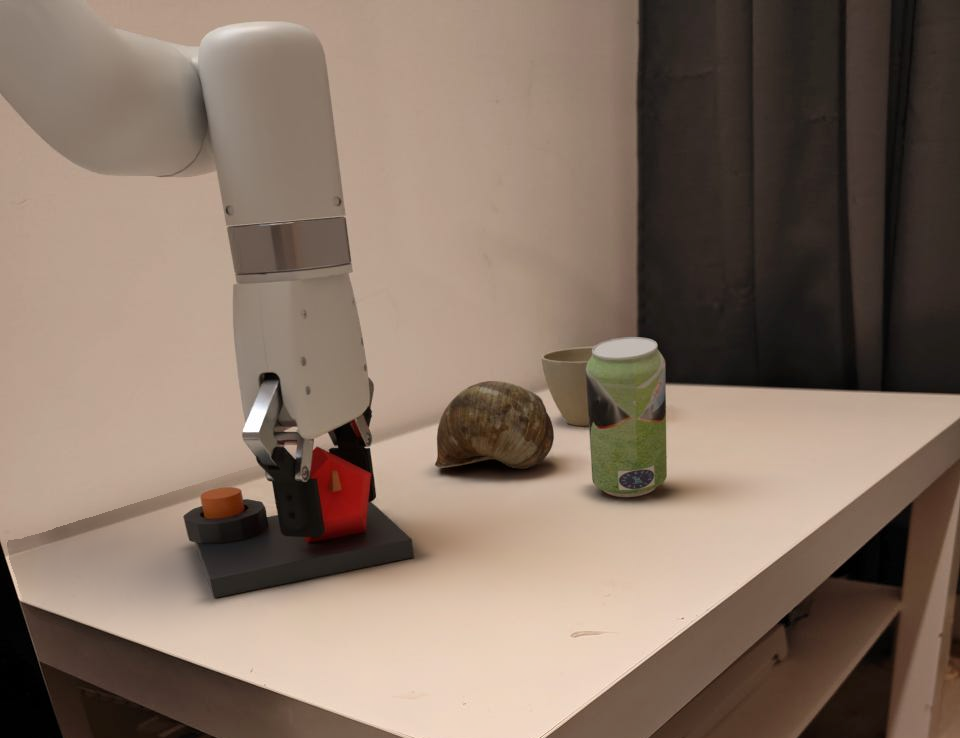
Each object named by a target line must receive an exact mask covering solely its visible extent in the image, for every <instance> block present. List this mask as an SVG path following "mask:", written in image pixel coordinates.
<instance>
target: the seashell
mask: <svg viewBox="0 0 960 738" xmlns="http://www.w3.org/2000/svg"><path fill="white" fill-rule="evenodd" d="M437 427H438V428H437V434H436V448H437V449H436V450H437V457H436V461H435V463H434V466H435V467H436V468H440V469H443V468H451V467H459V466H463V465H470V464H473V463H477V462H482V461H488V460H496V461H497V462H498V461H499V462H501V463H502V464H503V465H505V466H507V467H509V468H514V469H518V470H524V469H531V468H532V467H535V466H537V465H538V464H541V462H543V461H544V460H545V459H546V457H547V456H548V455H549V453H550V452H551V450H552V447H553V445H554V439H555V433H554V426H553V422H552V419H551V417H550V415H549V414H548V412H547V408H546V405H545V404H544V400H543V399H542V398H541V396H539V395H538V394H536V393H534V392H533V391H530V390H529V389H526V388H524V387H521V386H519V385H516V384H514V383H510V382H506V381H499V380H487V381H482V382H477V383H476V384H472V385H470V386H468V387H467V388H465V389H463V390H461V391H460V392H459V393H458V394H457V395H456V396H455V397H454V398H453V399H452V400H451V401H450V402H449V403H448V405H447V406H446V408H444V411H443V413H442V414H441V417H440V419H439V423H438V426H437Z"/></svg>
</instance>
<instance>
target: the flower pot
mask: <svg viewBox="0 0 960 738" xmlns="http://www.w3.org/2000/svg"><path fill="white" fill-rule="evenodd" d="M593 348H594V346H579V347H569V348H568V347H567V348H561V349H557V350H552V351H548V352H546V353H543V354H542V355H541V357H540V359H541V365H542V370H543V374H544V378H545V381H546V385H547V388H548V390H549V393H550V395H551V398H552V400H553V402H554V403H555V406H556V407H557V409H558V411H559V413H560V414H561V416H562V418H563V419H564V420H565V422H566V423H567V424H568V425H573V426H578V427H579V426H580V427H581V426H582V427H589V416H588V399H587V383H586V366H587V363H588V361H589V360H590V358H591V356H592V354H593V353H592V349H593Z"/></svg>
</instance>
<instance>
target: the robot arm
mask: <svg viewBox="0 0 960 738" xmlns="http://www.w3.org/2000/svg"><path fill="white" fill-rule="evenodd" d="M0 95H1V96H2V97H3V98H4V100H5V101H6V102H7V103H8V104H9V105H10V106H11V108H12V109H13V110H14V111H15V112H16V114H18V115H19V116H20V118H21V119H22V120H23V121H24V122H25V123H26V125H27V126H29V127H30V128H31V129H32V130H33V132H35V134H36V135H38V136H39V137H40V138H41V140H43V141H44V142H45V143H46V144H47V145H49V147H50V148H52V149H53V150H54V151H55V152H56V153H58V154H60V155H61V156H62V157H64V158H65V159H66V160H68V161H70V162H71V163H72V164H75V165H76V166H78V167H80V168H82V169H85V170H87V171H90V172H91V173H95V174H98V175H103V176H113V177H114V176H117V177H122V176H123V177H156V178H190V177H191V178H192V177H197V176H204V175H207V174H210V173H215V172H216V175H217V180H218V186H219V192H220V197H221V202H222V209H223V214H224V220H225V226H226V231H227V237H228V243H229V248H230V254H231V259H232V266H233V270H234V276H235V283H234V284H233V285H232V325H233V327H232V328H233V341H234V351H235V361H236V368H237V369H236V370H237V377H238V385H239V393H240V400H241V405H242V406H241V407H242V412H243V419H244V423H245V424H244V427H243V429H242V432H241V434H242V436H241V438H242V441H243V442H244V444H245V445H246V446H247V447H248V449H249V450H250V451H251V453H252V454H253V455H254V457H255V460H256V462H257V464H258V465H259V466H260V467H261V468H262V469H263V470H264V475H265V479H266V480H267V481H268V482H271V485H272V490H273V494H274V495H273V496H274V501H275V507H276V514H277V515H278V519H279V525H280V531H281V533H282V534H283V535H284V536H292V537H313V538H318V537H320V536H322V535H323V534H324V533H325V527H324V521H323V514H322V508H321V501H320V495H319V488H318V482H317V478H310V472H311V463H312V454H313V450H314V443H315V439H317V438H319V437H321V436H323V435H326V434H328V436H329V439H330V440H331V442H332V444H333V446H334V447H330V448H329V449H328V452H330V453H332V454H334V455H336V456H338V457H340V458H342V459H344V460H346V461H348V462H350V463H352V464H354V465H356V466H358V467H360V468H362V469H364V470H366V471H368V472H370V473H371V480H370V490H369V500H368V502H372V503H373V502H374V501H375V500H376V498H377V491H376V483H375V474H374V467H373V459H372V451H371V448H370V447H371V445H372V443H373V435H372V432H371V429H370V424H371V422H372V421H371V420H372V418H373V410H372V402H373V398H374V391H375V385H374V382H373V380H372V379H371V378H370V377H369V372H368V363H367V356H366V349H365V345H364V344H365V343H364V338H363V333H362V327H361V322H360V316H359V312H358V306H357V303H356V298H355V293H354V290H353V285H352V282H351V278H350V274H351V273H353V264H352V256H351V249H350V248H351V247H350V240H349V233H348V232H349V231H348V224H347V218H346V217H345V216H346V208H345V199H344V193H343V184H342V175H341V169H340V159H339V151H338V146H337V145H338V144H337V135H336V129H335V120H334V113H333V105H332V95H331V88H330V81H329V74H328V66H327V60H326V55H325V50H324V47H323V45H322V42H321V41H320V38H319V37H318V36H317V34H316V33H315V32H314V31H313V30H311V29H310V28H308V27H307V26H304V25H302V24H299V23H295V22H290V21H280V20H279V21H276V20H259V21H247V22H239V23H232V24H227V25H222V26H219V27H217V28H215V29H212V30H211V31H209V32H208V33H206V34H205V36H204V37H203V38H201V41H200V44H199V46H195V45H194V46H193V45H183V44H179V43H175V42H170V41H165V40H161V39H158V38H154V37H150V36H147V35H143V34H139V33H135V32H131V31H128V30H125V29H120V28H115V27H112V26H110V25H109V24H108V23H107V22H106V21H105V20H104V19H103V18H102V17H101V16H100V15H99V14H98V12H97V11H96V10H95V9H94V8H93V7H92V6H91V4H90V3H88V1H87V0H0ZM291 428H297V429H296V431H287V430H289V429H291ZM285 446H296V450H295V457H294V456H293V455H292V454H291V452H290V451H289V450H287V448H286V447H285Z"/></svg>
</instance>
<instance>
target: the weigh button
mask: <svg viewBox="0 0 960 738" xmlns="http://www.w3.org/2000/svg"><path fill="white" fill-rule="evenodd" d="M199 499H200V502H201V503H200V504H201V506H202V508H203V512H204V517H205V518H208V519H212V518H225V517H230V516H235V515H238V514H241V513H243V512H245V508H244V502H243V499H244V497H243V492H242V489H241V488H239V487H233V486H232V487H230V486H229V487H218V488H214V489H210V490H207V491H204V492H203V493H201V494H200V495H199Z"/></svg>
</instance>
